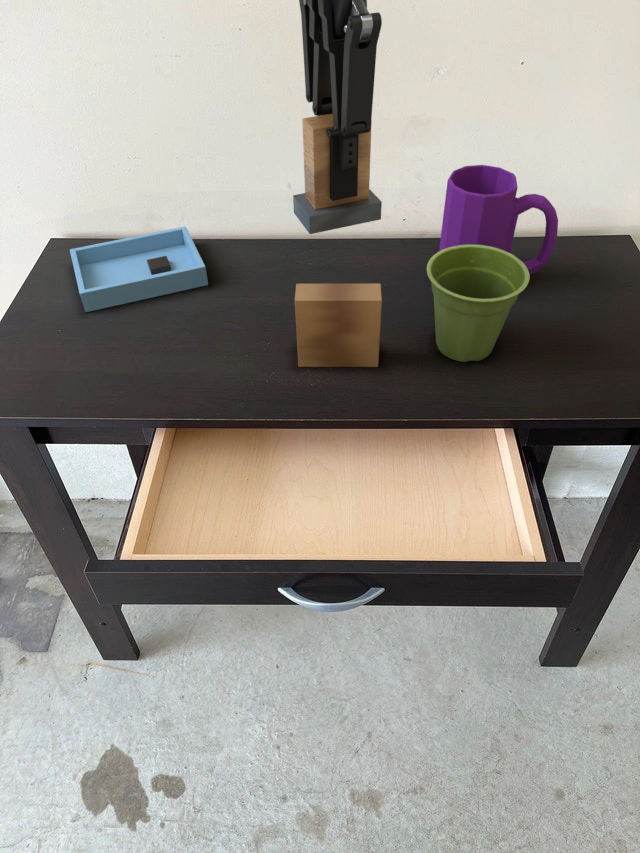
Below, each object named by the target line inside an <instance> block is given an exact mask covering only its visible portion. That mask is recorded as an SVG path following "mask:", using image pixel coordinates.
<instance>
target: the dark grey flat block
mask: <svg viewBox="0 0 640 853" xmlns="http://www.w3.org/2000/svg"><path fill="white" fill-rule="evenodd" d="M147 263H148V267H149V269H150V272H151V275H155V274H160V273H164V272H169V271H172V270H171V265H170V263H169V261H168V258H167V256H162V257H158V258H153V259H148V260H147Z"/></svg>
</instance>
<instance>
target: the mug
mask: <svg viewBox="0 0 640 853" xmlns="http://www.w3.org/2000/svg"><path fill="white" fill-rule="evenodd" d="M517 181H518V180H517V177H516V175H515V173H513V172H512V171H509V170H506V169H505V168H502V167H499V166H492V165H486V164H474V165H464V166H462V167H460V168H457V169H455V170H453V171H452V172H451V174H450V175H449V178H448V179H447V182H446V191H445V199H444V207H443V215H442V223H441V232H440V240H439V248H438V249H439V250H438V252H439V251H441V250H443V249H446V248H449V247H453V246H458V245H484V246H491V247H494V248H498V249H501V250H504V251H506V252H508V253H510V254H511V250H512V246H513V241H514V236H515V232H516V228H517V223H518V218H519V216H520V215H521V214H523V213H525V212H527V211H529V210H530V209H532V208H533V209H536V210H539V211H541V212H542V213H543V214H544V217H545V232H544V237H543V241H542V244H541V248H540V250H539V252H538V253H537V255H536V256H535V257H533V258H532V259H529V260H526V261H522V262H523V263H524V264H525V266H526V267H527V269H528V271H529V275H533V274H536V273H537V272H539V271H540V270H541V269H543V268H544V267H545V266H546V265H547V264H548V263H549V261H550V259H551V257H552V255H553V253H554V250H555V247H556V242H557V239H558V231H559V230H558V228H559V227H558V226H559V217H558V213H557V210H556V208H555V207H554V205H553V204H552V203H551V201H550V200H549V199H548V198H546V196H545V195H541V194H537V193H528V194H523V195H521V196H519V197H517V193H518V182H517Z"/></svg>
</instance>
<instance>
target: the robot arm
mask: <svg viewBox="0 0 640 853" xmlns="http://www.w3.org/2000/svg"><path fill="white" fill-rule="evenodd" d="M298 3H299V11H300V17H301V18H300V19H301V33H302V37H301V38H302V51H303V53H302V54H303V68H304V69H303V70H304V84H305V85H304V86H305V87H304V88H305V99H306V102H307V103H312V105H311V106H312V107H311V109H312V112H313V115H314V117H315V116H321V115H327V114H333V127H334V128H332V129H326V133H327V136H328V137H329V146H330V199H331V200H332V201H335V200H340V199H345V198H350V197H355V196H357V189H358V145H359V134H362V133H367V132H370V130H371V131H372V124H371V120H372V116H373V103H374V102H373V101H374V92H375V91H374V89H375V75H376V61H377V50H378V49H377V48H378V42H379V39H380V38H379V37H380V34H381V29H382V24H383V19H382V15H381V13H380V12H377V11H376V12H370V11H369V9H368V0H298Z"/></svg>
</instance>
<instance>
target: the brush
mask: <svg viewBox="0 0 640 853" xmlns="http://www.w3.org/2000/svg"><path fill="white" fill-rule="evenodd" d="M372 122H373V121H372V119H371V125H372ZM332 128H334V127H333V114H327V115H321V116H315V115H314V116H309V117H303V118H302V140H303V141H302V145H303V147H302V148H303V173H304V174H303V175H304V193H303V192H302V193H297V194H293V195H292V203H293V213H294V216H296V218H297V219H298V221H299V222H300V223H301V225H302V226H303V227H304V229H305V231H307V233H308V234H309V235H315V234H318V233H323V232H328V231H333V230H337V229H342V228H347V227H352V226H356V225H357V226H358V225H361V224H366V223H371V222H375V221H380V220H381V219H382V205H383V204H382V200H380V198H379V197H378V196H377V195H376V194H375V193H374V192H373V191H372V190H371V188H370V181H371V180H370V177H371V175H370V174H371V151H372V150H371V149H372V129H371V130H370V132H367V133H362V134H359V145H358V189H357V196H355V197H350V198H345V199H340V200H335V201H332V200H331V199H330V146H329V137H328V136H327V133H326V129H332Z"/></svg>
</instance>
